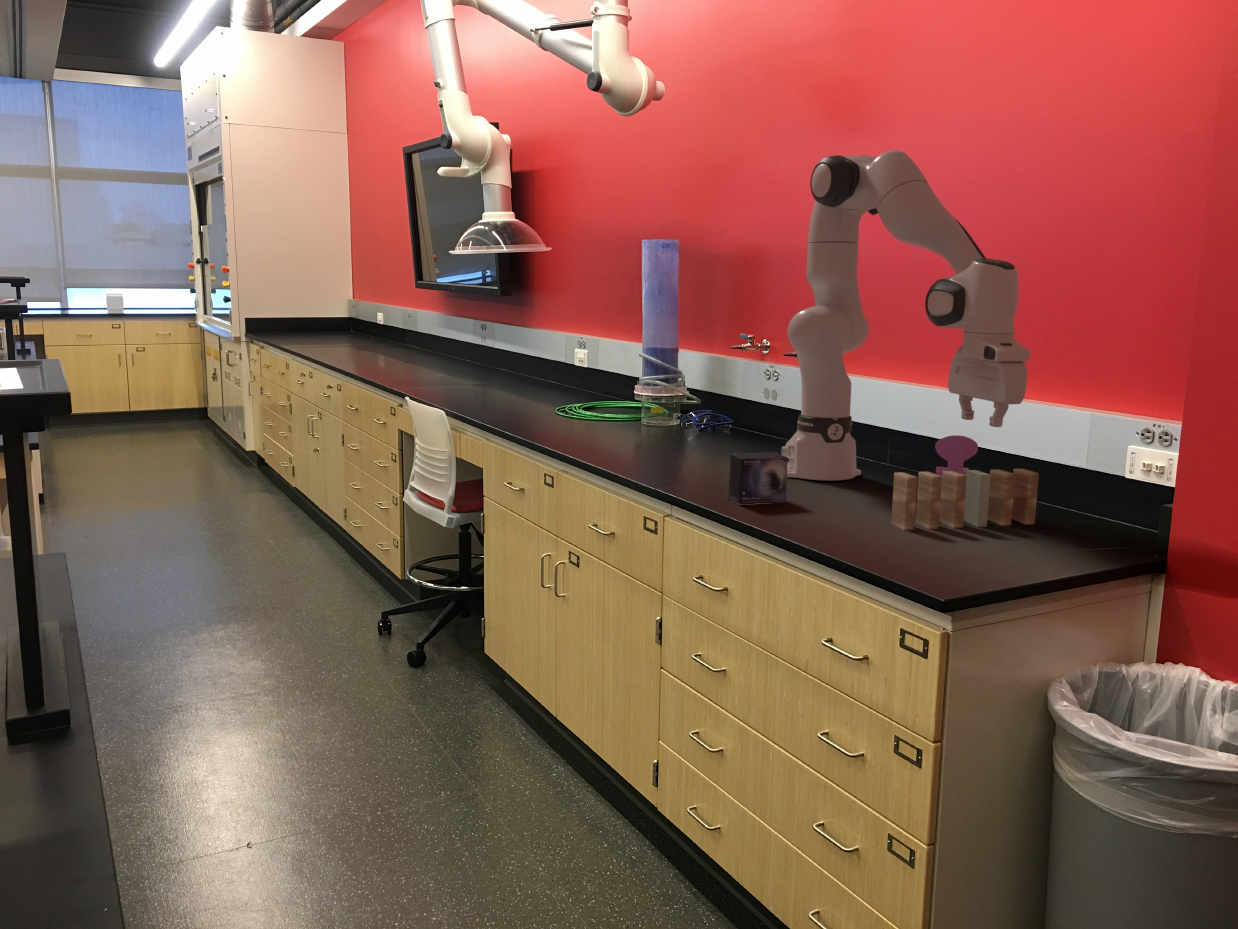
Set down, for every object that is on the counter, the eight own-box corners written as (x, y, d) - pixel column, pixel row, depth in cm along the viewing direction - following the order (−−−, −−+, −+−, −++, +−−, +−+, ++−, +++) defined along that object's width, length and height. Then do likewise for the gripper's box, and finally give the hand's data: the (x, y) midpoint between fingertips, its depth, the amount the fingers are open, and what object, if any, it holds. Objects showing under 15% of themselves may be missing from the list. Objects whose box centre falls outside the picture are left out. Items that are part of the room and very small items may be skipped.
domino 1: (904, 530, 182) (907, 477, 180) (891, 524, 187) (894, 472, 185) (914, 530, 182) (917, 477, 181) (900, 524, 187) (904, 472, 186)
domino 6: (1025, 525, 187) (1029, 473, 186) (1009, 519, 192) (1013, 468, 190) (1034, 524, 188) (1038, 473, 186) (1018, 519, 192) (1022, 468, 191)
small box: (739, 509, 199) (741, 458, 197) (727, 502, 205) (728, 453, 203) (787, 506, 202) (789, 456, 200) (773, 500, 208) (775, 451, 206)
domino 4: (977, 527, 185) (980, 474, 184) (962, 521, 190) (966, 470, 188) (986, 527, 186) (990, 474, 184) (972, 521, 190) (975, 470, 189)
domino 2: (928, 529, 183) (932, 476, 181) (915, 523, 188) (918, 471, 186) (938, 529, 184) (942, 476, 182) (925, 523, 188) (928, 471, 187)
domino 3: (953, 528, 184) (956, 475, 182) (939, 522, 189) (942, 471, 187) (963, 528, 185) (966, 475, 183) (948, 522, 189) (952, 470, 188)
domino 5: (1001, 526, 186) (1005, 474, 184) (986, 520, 191) (990, 469, 189) (1010, 525, 187) (1015, 473, 185) (995, 520, 191) (999, 469, 190)
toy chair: (969, 502, 208) (975, 431, 206) (975, 510, 200) (980, 437, 197) (928, 500, 210) (933, 430, 207) (932, 508, 201) (937, 435, 199)
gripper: (942, 344, 191) (937, 415, 194) (1003, 352, 172) (996, 431, 174) (972, 345, 193) (966, 415, 195) (1036, 352, 173) (1028, 430, 176)
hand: (981, 423), depth 185 cm, fingers open, 8 cm apart
